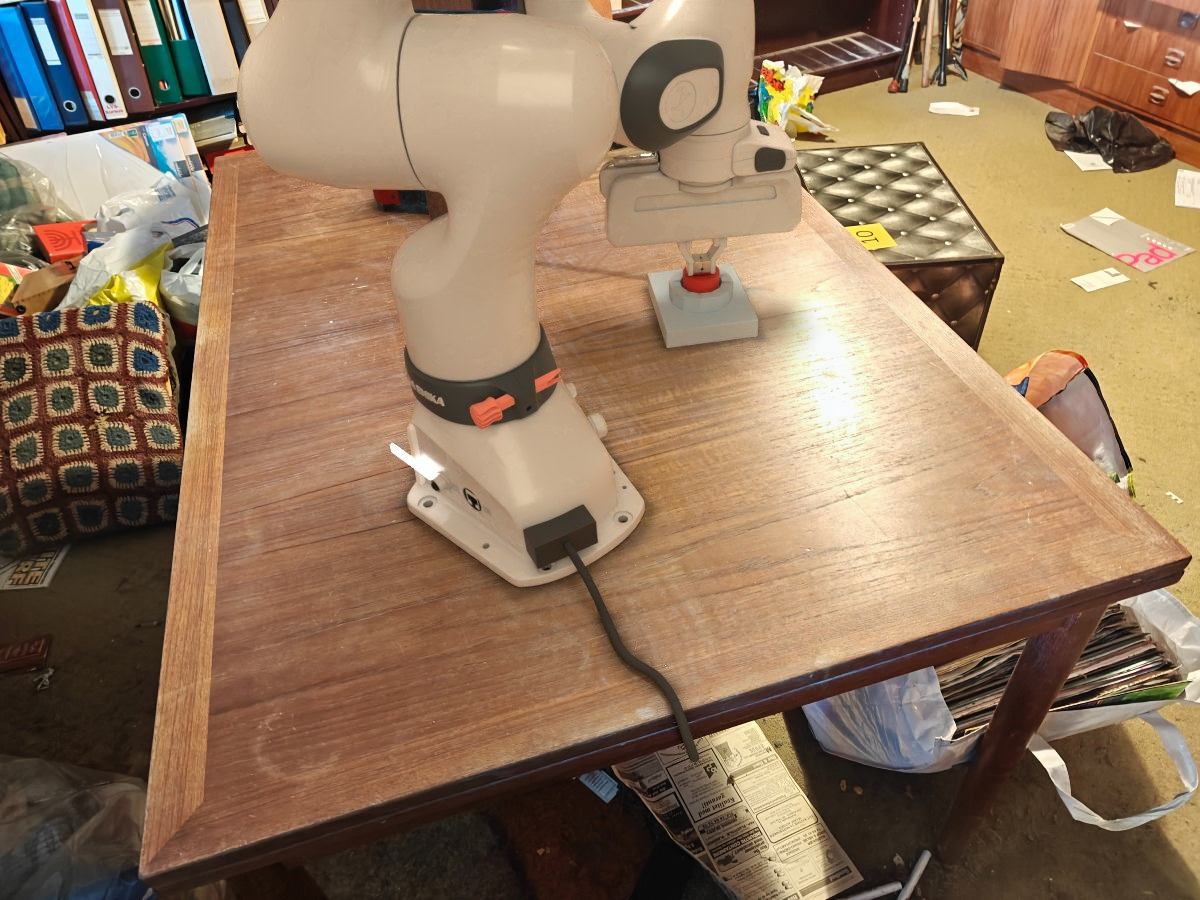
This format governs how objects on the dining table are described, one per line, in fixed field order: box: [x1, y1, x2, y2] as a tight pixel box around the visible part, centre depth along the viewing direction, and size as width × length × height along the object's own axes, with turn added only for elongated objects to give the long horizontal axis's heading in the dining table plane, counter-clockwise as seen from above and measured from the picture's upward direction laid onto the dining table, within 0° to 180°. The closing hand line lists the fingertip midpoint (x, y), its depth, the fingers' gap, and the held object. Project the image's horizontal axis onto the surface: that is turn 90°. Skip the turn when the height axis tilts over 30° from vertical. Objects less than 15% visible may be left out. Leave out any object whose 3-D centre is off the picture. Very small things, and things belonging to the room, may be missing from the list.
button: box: [682, 266, 720, 293], centre depth 94 cm, size 4×4×2 cm
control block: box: [646, 262, 760, 349], centre depth 95 cm, size 12×10×4 cm
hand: (700, 272), depth 93 cm, fingers closed
